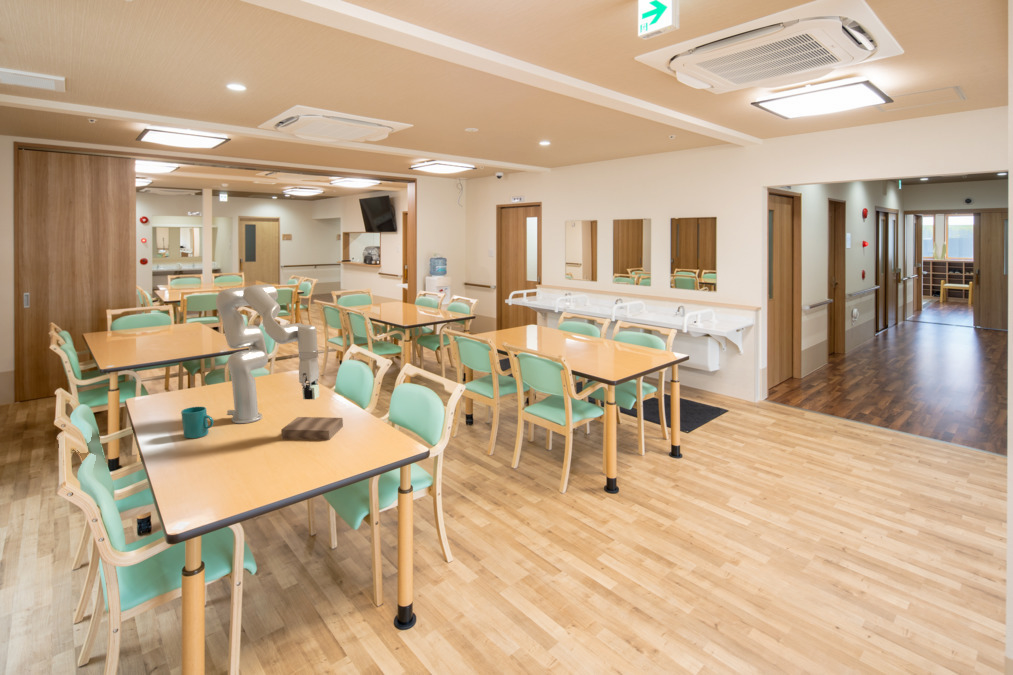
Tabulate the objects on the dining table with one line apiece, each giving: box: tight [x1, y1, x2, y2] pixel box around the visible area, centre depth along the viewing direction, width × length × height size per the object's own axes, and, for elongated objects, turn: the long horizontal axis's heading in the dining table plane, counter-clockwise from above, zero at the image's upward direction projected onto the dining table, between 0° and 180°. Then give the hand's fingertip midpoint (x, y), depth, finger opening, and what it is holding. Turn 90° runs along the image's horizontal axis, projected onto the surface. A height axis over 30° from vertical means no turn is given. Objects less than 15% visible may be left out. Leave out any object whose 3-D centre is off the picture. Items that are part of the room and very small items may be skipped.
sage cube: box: [302, 384, 320, 401], centre depth 225 cm, size 5×5×5 cm
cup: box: [180, 406, 215, 439], centre depth 223 cm, size 9×12×11 cm
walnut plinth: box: [280, 416, 344, 441], centre depth 228 cm, size 20×16×4 cm
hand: (311, 396), depth 225 cm, fingers closed on sage cube, 5 cm apart
